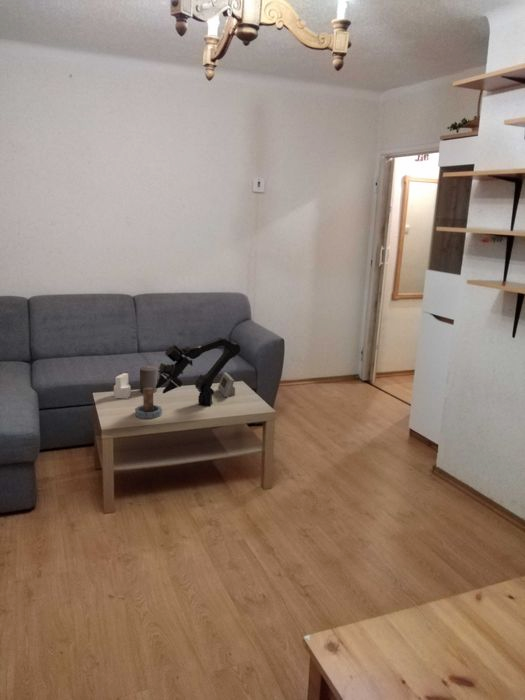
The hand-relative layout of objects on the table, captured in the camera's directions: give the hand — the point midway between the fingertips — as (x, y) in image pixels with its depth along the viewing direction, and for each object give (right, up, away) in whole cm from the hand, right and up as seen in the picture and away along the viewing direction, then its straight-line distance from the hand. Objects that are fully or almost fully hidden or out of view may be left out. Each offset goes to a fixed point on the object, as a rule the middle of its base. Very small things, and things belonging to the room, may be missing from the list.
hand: (159, 390), depth 281 cm
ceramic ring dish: (-5, -12, 0) cm, 13 cm away
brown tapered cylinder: (-5, -11, -1) cm, 12 cm away
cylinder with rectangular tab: (-25, -5, +25) cm, 36 cm away
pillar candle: (-13, -3, +36) cm, 38 cm away
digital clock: (+31, -5, +36) cm, 48 cm away
